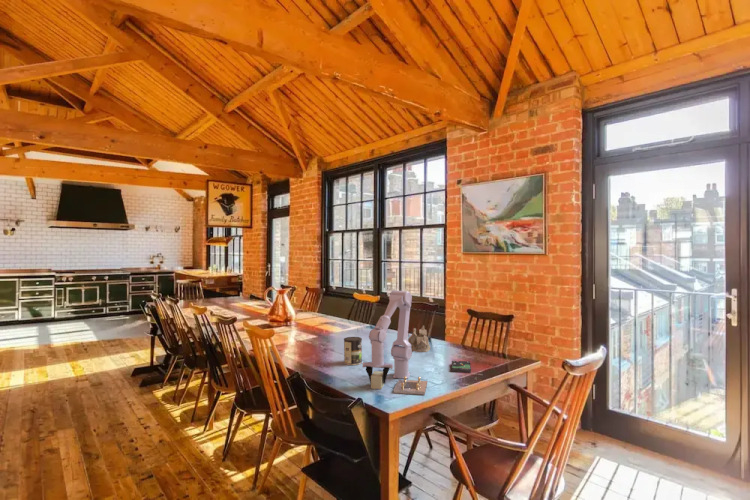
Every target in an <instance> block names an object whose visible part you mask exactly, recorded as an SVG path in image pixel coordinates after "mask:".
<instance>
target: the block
mask: <svg viewBox="0 0 750 500" xmlns="http://www.w3.org/2000/svg"><path fill="white" fill-rule="evenodd" d="M384 385H385V384H383V371H381V370H379V371H376V370H374V371H372V375H371V383H370V389H373V390H382V389H383V388H384Z"/></svg>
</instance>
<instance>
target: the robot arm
mask: <svg viewBox="0 0 750 500" xmlns="http://www.w3.org/2000/svg"><path fill="white" fill-rule="evenodd" d="M388 299H389V302H388V304H387V307H386V309H385V311H384V314H383V315H380V317H379V319H378V321H377V322H376V324H375V326H374V328H373V329H371V330H370V331H369V335H368V339H369V340H370V344H371V361H369V362H367V361H366V362H365V361H364V362H362V368H365V371H366V373H367V375H368V379H369V382H370V384H371V375H372V374H373V372H374V371H373V369H374V368H377V369H380V368H381V369H382V372H383V384H384V385H385V384H386V379H387V376H388V373H389V370H390V369H391V370H392V369H393V368H394V371H393V372H394V373H393V376H392V378H393V379H402V380H404V376H406V380H409V378H410V375H411V372H409V360H410V359H411V357H412V355H413V350H411V344H410V343H409V342H408V338H409V337H408V336H409V335H408V334H409V325H410V324H409V323H410V313H411V307H412V300H413V295H412V293H411V292H410V291H408V290H406V291H405V290H395V289H393V290H392V291H391V292H390V294H389V296H388ZM397 308H398V309H399V315H398V324H397V333H396V334H397V335H396V340H394V341H393V342H392V345H391V349H390V355H391V357H392V359H393V360H394V361H393V363H394V364H393V363H388V362H384V360H385V358H384V357H385V355H384V354H385V352H384V345H385V344H384V343H385V341H386V339H387V333H388V332H387V331H388V328H389V327H390V325H391V323H392V321H391V320H392V319H391V318H392V316H393V315H394V313H395V311H396V310H397Z"/></svg>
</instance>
